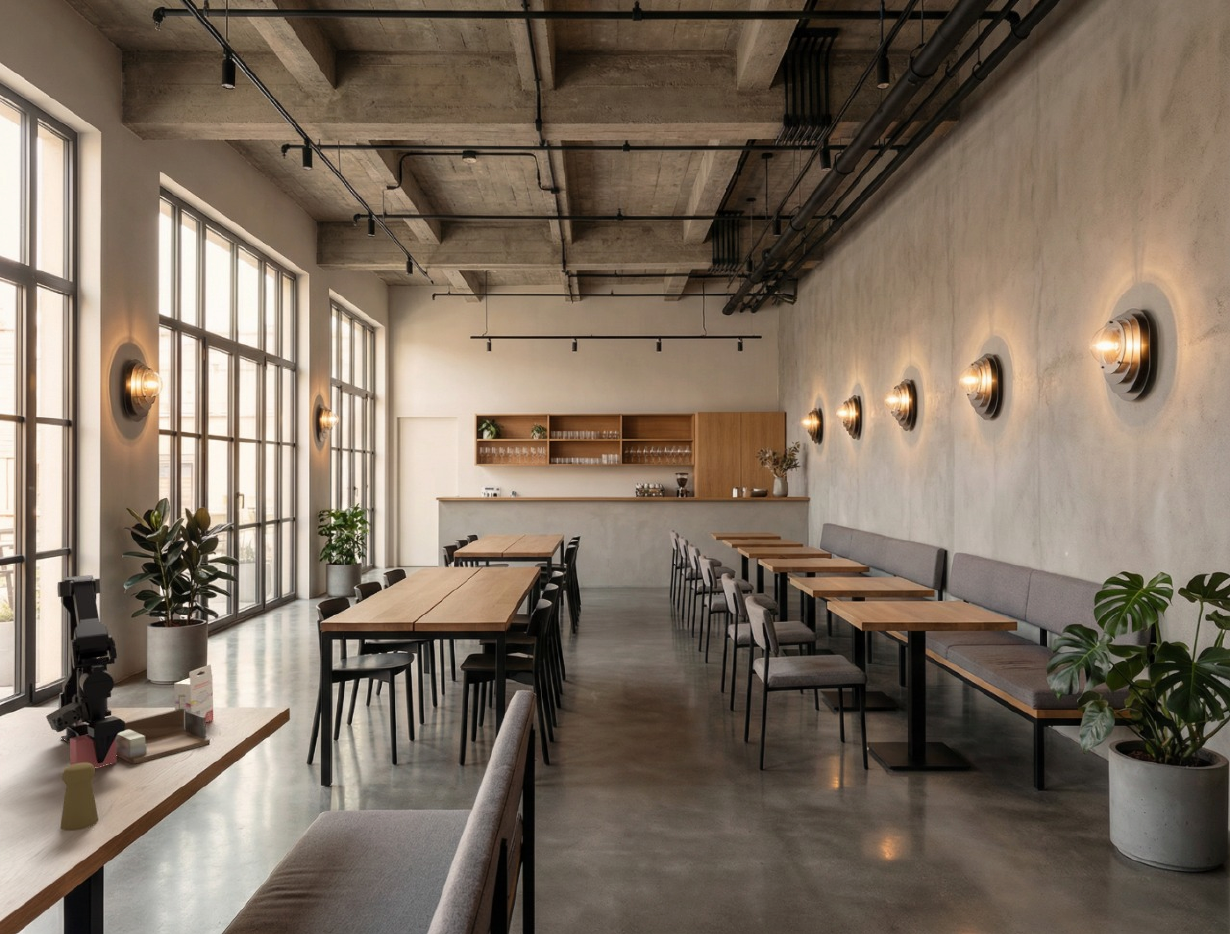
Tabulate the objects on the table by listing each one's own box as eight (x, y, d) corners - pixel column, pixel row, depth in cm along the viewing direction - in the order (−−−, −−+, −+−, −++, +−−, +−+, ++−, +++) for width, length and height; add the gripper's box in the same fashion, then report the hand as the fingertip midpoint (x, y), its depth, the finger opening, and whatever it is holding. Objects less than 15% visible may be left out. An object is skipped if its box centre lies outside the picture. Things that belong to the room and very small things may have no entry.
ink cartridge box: (197, 719, 224) (196, 663, 223) (214, 720, 223) (213, 663, 222) (174, 729, 215) (173, 671, 215) (191, 730, 214) (190, 671, 214)
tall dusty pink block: (70, 770, 187) (69, 738, 187) (109, 759, 194) (109, 729, 194) (76, 773, 185) (76, 741, 185) (116, 763, 192) (115, 731, 191)
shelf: (107, 751, 199) (107, 725, 199) (181, 732, 212) (181, 708, 212) (134, 764, 190) (133, 737, 190) (209, 743, 204) (209, 718, 204)
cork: (71, 817, 162) (70, 759, 162) (104, 816, 163) (103, 758, 162) (53, 831, 156) (52, 771, 156) (88, 829, 157) (87, 769, 156)
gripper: (34, 690, 189) (36, 761, 189) (68, 704, 177) (69, 779, 177) (90, 679, 197) (91, 747, 198) (125, 692, 186) (126, 764, 186)
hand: (93, 759), depth 189 cm, fingers open, 7 cm apart
